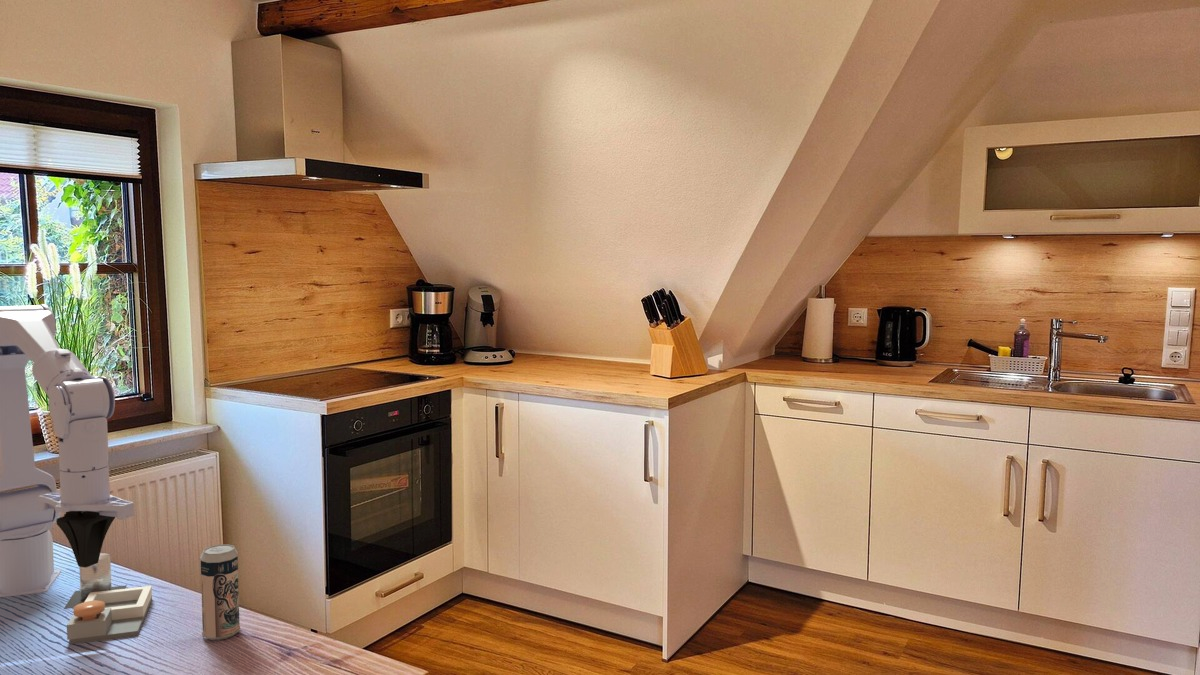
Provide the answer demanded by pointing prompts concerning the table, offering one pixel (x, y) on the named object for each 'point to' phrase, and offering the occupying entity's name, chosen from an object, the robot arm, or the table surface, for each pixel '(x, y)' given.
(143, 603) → the station
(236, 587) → the beer can
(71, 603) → the mat
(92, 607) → the button
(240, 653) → the table surface
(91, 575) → the billet
